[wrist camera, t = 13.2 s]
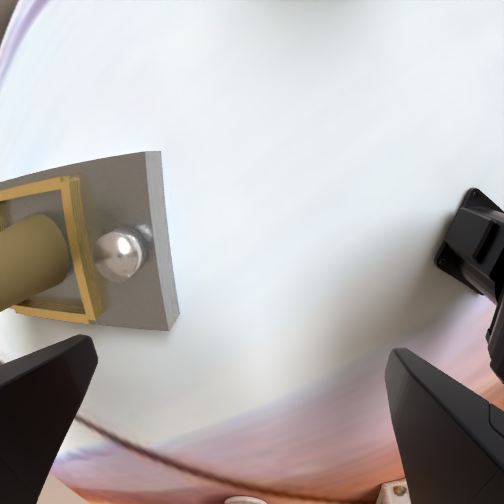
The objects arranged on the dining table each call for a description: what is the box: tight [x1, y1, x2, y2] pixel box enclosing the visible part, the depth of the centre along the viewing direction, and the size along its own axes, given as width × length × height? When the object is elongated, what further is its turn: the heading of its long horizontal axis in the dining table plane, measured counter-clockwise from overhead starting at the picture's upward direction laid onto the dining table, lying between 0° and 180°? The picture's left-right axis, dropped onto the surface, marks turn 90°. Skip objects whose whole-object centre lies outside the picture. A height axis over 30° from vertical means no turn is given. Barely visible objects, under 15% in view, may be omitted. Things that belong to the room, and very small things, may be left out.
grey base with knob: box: [0, 151, 180, 331], centre depth 20 cm, size 16×12×4 cm
